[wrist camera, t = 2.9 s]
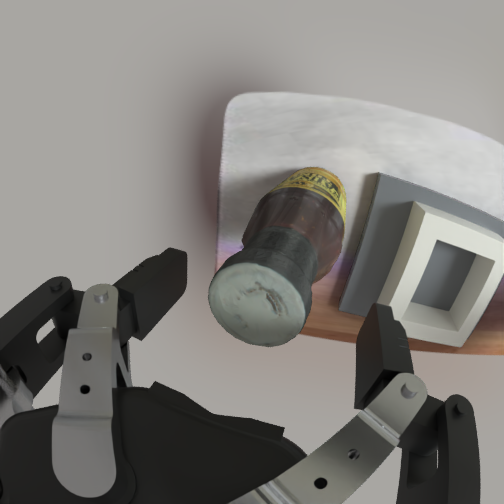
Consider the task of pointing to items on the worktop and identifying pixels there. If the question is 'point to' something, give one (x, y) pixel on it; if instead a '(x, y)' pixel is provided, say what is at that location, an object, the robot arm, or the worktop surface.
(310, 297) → the sauce bottle
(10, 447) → the robot arm
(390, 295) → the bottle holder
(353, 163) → the worktop surface
